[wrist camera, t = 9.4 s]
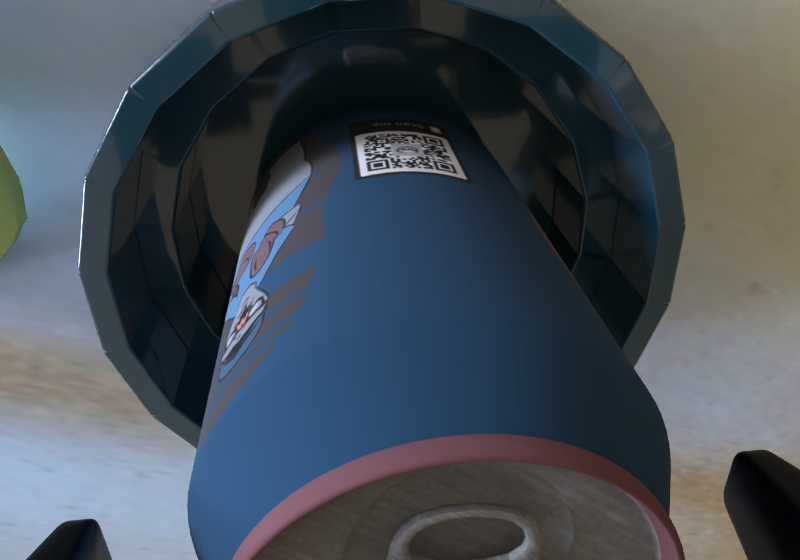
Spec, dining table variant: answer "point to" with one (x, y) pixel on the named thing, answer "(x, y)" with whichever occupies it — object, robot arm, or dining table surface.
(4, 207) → the figurine
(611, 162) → the bowl
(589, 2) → the dining table surface
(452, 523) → the soda can
